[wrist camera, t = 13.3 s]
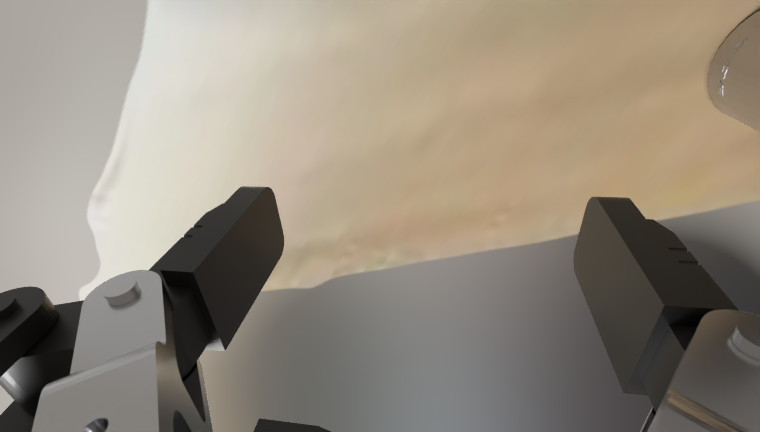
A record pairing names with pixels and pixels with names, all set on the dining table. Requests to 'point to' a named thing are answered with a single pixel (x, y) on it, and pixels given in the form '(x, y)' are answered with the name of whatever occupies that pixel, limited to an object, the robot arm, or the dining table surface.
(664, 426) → the robot arm
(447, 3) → the dining table surface
